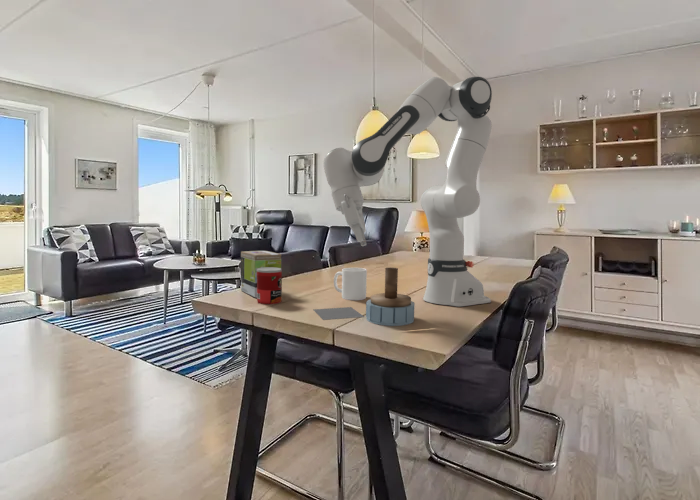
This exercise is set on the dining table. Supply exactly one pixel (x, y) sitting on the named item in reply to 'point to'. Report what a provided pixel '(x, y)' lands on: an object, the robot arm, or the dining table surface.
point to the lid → (391, 292)
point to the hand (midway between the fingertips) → (362, 243)
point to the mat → (337, 313)
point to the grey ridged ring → (390, 314)
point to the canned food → (269, 285)
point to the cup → (352, 283)
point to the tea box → (250, 266)
